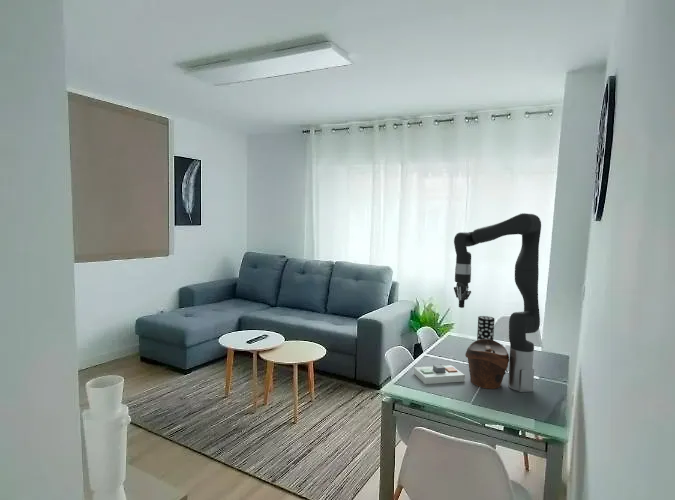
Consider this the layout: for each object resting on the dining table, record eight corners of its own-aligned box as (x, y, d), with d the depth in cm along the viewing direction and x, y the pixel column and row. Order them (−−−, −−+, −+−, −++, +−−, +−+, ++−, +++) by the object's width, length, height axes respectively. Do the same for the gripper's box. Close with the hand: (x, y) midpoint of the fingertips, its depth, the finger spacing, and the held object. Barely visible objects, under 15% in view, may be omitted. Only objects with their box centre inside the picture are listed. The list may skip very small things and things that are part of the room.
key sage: (432, 376, 176) (432, 371, 176) (424, 376, 175) (424, 372, 175) (428, 372, 180) (428, 368, 180) (420, 373, 179) (420, 369, 179)
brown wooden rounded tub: (482, 394, 161) (485, 351, 160) (455, 376, 181) (457, 338, 180) (518, 391, 166) (521, 350, 165) (488, 374, 185) (491, 336, 184)
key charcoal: (445, 372, 177) (445, 367, 177) (436, 372, 176) (437, 368, 176) (440, 368, 181) (441, 364, 181) (432, 369, 180) (433, 365, 180)
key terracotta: (457, 374, 178) (457, 370, 178) (448, 375, 178) (449, 370, 177) (452, 371, 182) (452, 367, 182) (444, 371, 181) (444, 367, 181)
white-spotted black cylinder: (476, 355, 211) (478, 318, 210) (475, 350, 219) (477, 315, 218) (493, 357, 209) (495, 320, 207) (491, 352, 217) (493, 316, 215)
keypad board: (464, 381, 175) (464, 374, 175) (425, 384, 171) (425, 377, 171) (451, 371, 187) (451, 365, 186) (413, 373, 182) (414, 367, 182)
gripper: (477, 274, 188) (475, 310, 189) (462, 271, 200) (461, 304, 202) (463, 274, 186) (461, 310, 187) (449, 271, 199) (447, 304, 200)
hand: (461, 307), depth 194 cm, fingers closed
